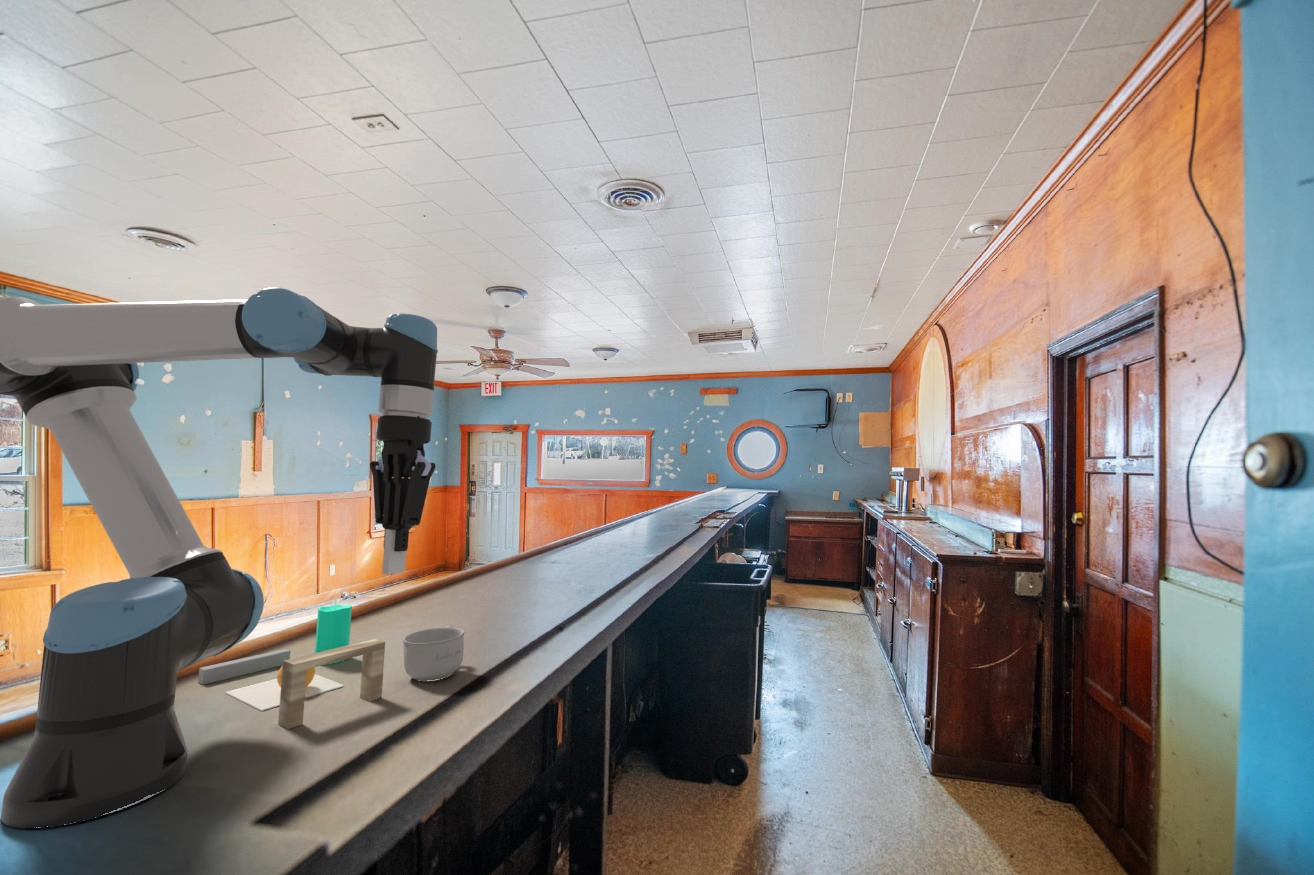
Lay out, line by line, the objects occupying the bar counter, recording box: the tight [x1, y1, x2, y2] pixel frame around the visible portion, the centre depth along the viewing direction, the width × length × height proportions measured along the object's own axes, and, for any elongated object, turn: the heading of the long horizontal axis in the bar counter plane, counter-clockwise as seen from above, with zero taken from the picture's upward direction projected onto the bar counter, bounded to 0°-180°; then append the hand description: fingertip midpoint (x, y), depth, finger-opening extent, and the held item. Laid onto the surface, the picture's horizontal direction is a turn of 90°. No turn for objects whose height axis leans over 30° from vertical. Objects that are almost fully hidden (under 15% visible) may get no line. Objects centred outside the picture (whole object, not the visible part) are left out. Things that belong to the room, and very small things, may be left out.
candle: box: [314, 599, 353, 665], centre depth 112 cm, size 6×6×12 cm
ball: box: [276, 665, 316, 687], centre depth 95 cm, size 6×6×6 cm
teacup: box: [402, 625, 465, 682], centre depth 105 cm, size 14×11×8 cm
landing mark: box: [224, 673, 345, 712], centre depth 95 cm, size 13×13×1 cm
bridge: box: [277, 638, 386, 730], centre depth 88 cm, size 3×14×9 cm, turn 149°
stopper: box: [197, 648, 291, 685], centre depth 103 cm, size 14×2×2 cm, turn 149°
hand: (393, 572), depth 82 cm, fingers closed
